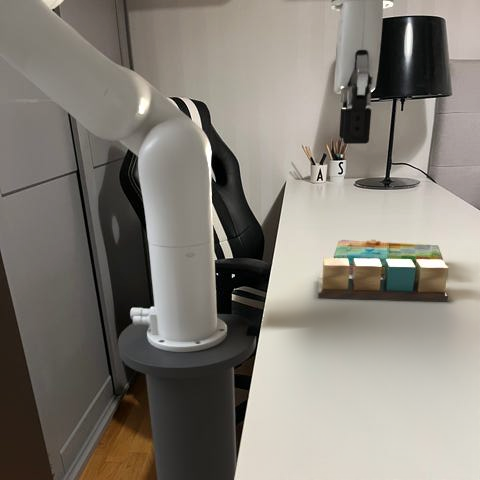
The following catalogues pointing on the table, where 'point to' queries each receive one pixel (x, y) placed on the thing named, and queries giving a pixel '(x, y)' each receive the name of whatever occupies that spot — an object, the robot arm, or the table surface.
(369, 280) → the maple block
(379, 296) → the walnut board
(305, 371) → the table surface
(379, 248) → the puzzle game
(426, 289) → the maple block
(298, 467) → the table surface
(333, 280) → the maple block
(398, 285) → the teal block
